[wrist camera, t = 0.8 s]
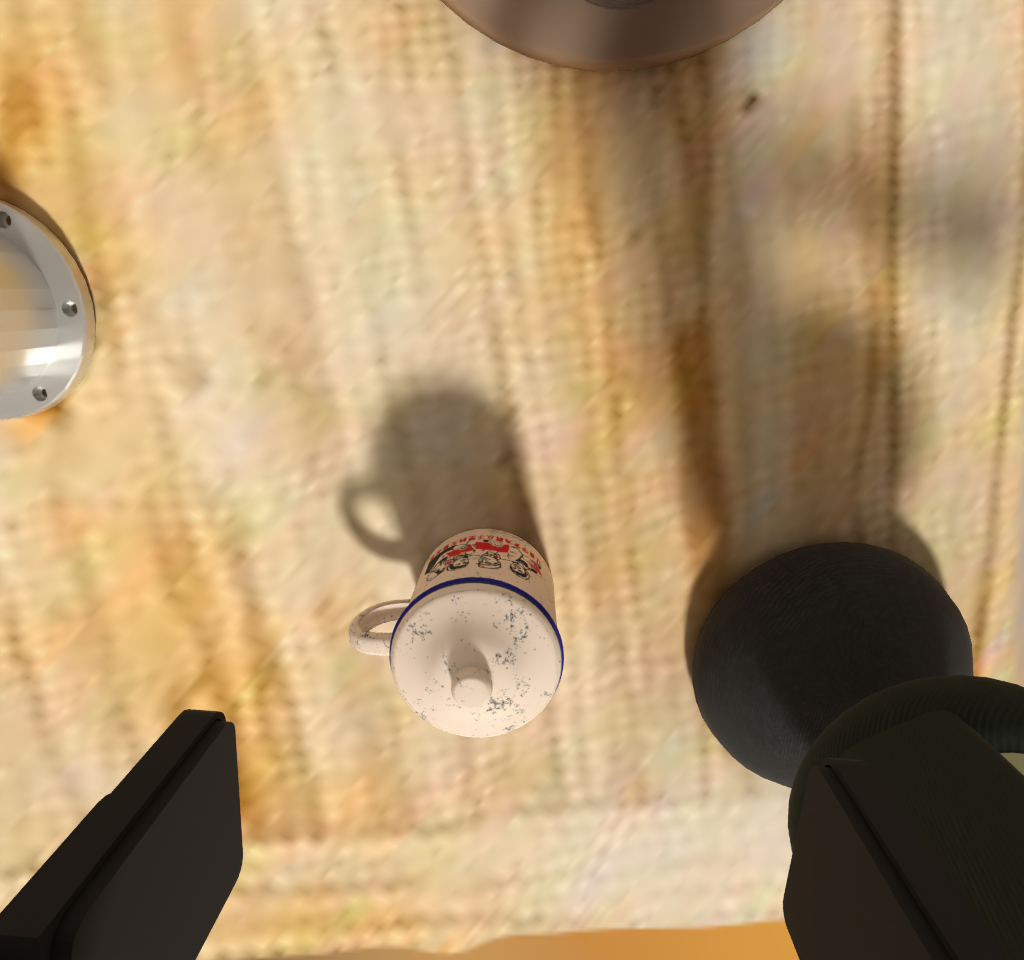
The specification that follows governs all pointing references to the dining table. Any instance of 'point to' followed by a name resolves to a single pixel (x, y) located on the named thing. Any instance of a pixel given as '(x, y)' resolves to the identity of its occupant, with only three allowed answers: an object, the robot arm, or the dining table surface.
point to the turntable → (610, 29)
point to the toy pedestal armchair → (875, 707)
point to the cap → (619, 3)
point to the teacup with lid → (472, 635)
